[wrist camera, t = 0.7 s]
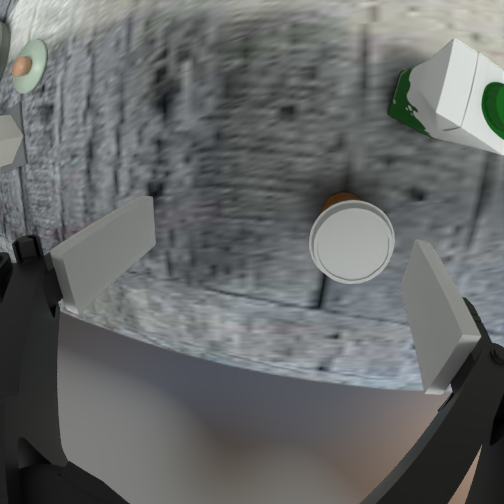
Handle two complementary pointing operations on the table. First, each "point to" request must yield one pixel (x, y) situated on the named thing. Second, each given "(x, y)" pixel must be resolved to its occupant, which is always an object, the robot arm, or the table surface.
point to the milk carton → (454, 98)
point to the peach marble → (21, 66)
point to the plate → (38, 55)
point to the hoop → (4, 46)
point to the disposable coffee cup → (351, 239)
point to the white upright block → (8, 139)
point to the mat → (21, 152)
